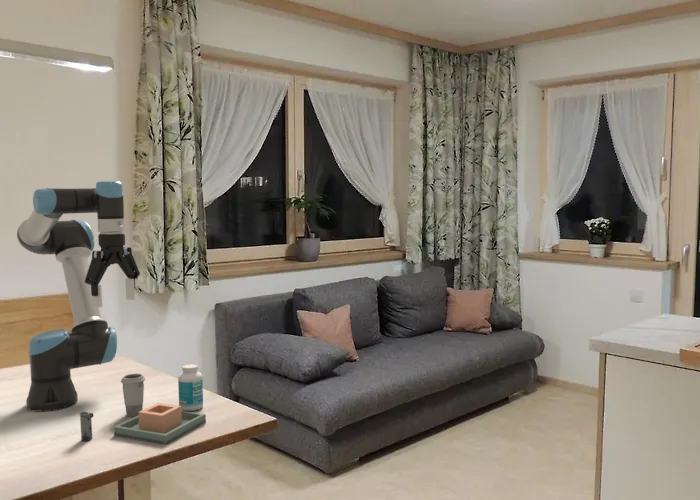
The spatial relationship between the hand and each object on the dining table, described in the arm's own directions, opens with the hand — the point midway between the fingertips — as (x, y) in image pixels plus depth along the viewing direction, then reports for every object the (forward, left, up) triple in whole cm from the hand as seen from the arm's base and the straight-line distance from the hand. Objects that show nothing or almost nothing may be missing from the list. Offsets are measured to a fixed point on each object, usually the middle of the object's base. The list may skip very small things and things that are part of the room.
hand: (114, 303), depth 193 cm
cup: (+4, +2, -35) cm, 35 cm away
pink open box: (+20, -5, -34) cm, 40 cm away
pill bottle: (+17, +13, -35) cm, 41 cm away
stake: (+6, -19, -35) cm, 40 cm away
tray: (+20, -5, -35) cm, 40 cm away
